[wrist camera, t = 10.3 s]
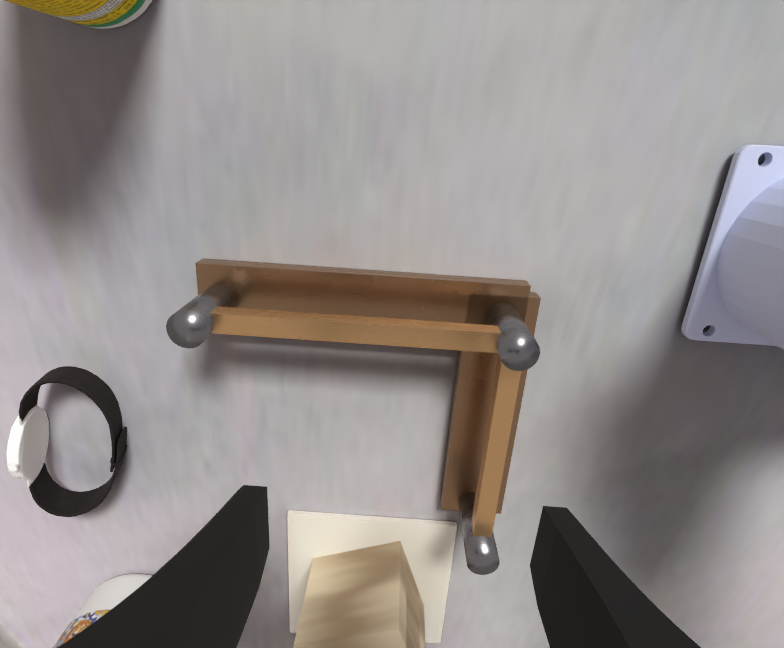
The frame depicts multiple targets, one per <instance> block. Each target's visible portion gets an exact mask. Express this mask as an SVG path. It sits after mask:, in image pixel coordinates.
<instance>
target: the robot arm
mask: <svg viewBox="0 0 784 648" xmlns="http://www.w3.org/2000/svg"><path fill="white" fill-rule="evenodd" d="M763 153H764V155H765V160H764V162H763V164H761V165H760V166H759V164H758V158H759V157H760V155H762V154H763ZM708 325H710V328H709V330H708V331H707V332H705V333H703V329H704V328H705V327H706V326H708ZM681 331H682V334H683V335H684V336H686V337H687V338H688V339H691V340H698V341H712V342H727V343H741V344H756V345H770V346H778V347H780V348H781V349H783V350H784V147H783V146H768V145H744V146H742V147H741V148H739V149H738V150H737V151H736V152H735V154H734V156H733V159H732V162H731V165H730V168H729V172H728V175H727V178H726V182H725V185H724V188H723V192H722V195H721V198H720V201H719V205H718V208H717V211H716V215H715V218H714V221H713V224H712V228H711V231H710V234H709V238H708V241H707V244H706V247H705V251H704V254H703V257H702V261H701V264H700V267H699V270H698V274H697V277H696V280H695V284H694V287H693V290H692V293H691V297H690V300H689V303H688V307H687V310H686V313H685V316H684V320H683V323H682V327H681ZM268 550H269V525H268V500H267V487H262V486H248V485H243V486H242V487H241V488H240V489H239V490H238V491H237V492H236V493H235V494H234V495H233V496H232V498H231V499H230V500H229V501H228V502H227V503H226V504H225V505H224V506H223V507H222V508H221V510H220V511H219V512H218V513H217V514H216V515H215V516H214V517H213V518H212V519H211V520H210V521H209V522H208V523H207V524H206V525H205V526H204V527H203V528H202V529H201V530H200V531H199V532H198V533H197V534H196V535H195V536H194V537H193V538H192V539H191V540H190V541H189V542H188V543H187V544H186V545H185V546H184V547H183V548H182V549H181V550H180V551H179V552H178V553H177V554H176V555H175V556H174V557H173V558H172V559H170V560H169V561H168V562H167V563H166V564H165V565H164V566H163V567H162V568H161V569H160V570H158V571H157V572H156V573H155V574H154V575H153V576H152V577H151V578H149V579H148V580H147V581H146V582H145V583H144V584H142V585H141V586H140V587H139V588H138V589H136V590H135V591H134V592H133V593H132V594H130V595H129V596H128V597H126V598H125V599H124V600H123V601H121V602H120V603H119V604H118V605H116V606H115V607H114V608H113V609H111V610H110V611H108V612H107V613H106V614H104V615H103V616H102V617H100V618H99V619H98V620H96V621H95V622H94V623H92V624H91V625H89V626H88V627H87V628H85V629H84V630H82V631H81V632H79V633H78V634H77V635H75V636H74V637H72V638H71V639H70V640H68V641H67V642H65V643H64V644H62V645H61V646H59V647H57V648H236V647H237V645H238V642H239V639H240V637H241V634H242V631H243V629H244V626H245V623H246V621H247V618H248V615H249V613H250V610H251V607H252V605H253V602H254V599H255V597H256V594H257V591H258V589H259V585H260V582H261V578H262V574H263V570H264V566H265V562H266V558H267V554H268ZM530 568H531V574H532V579H533V585H534V590H535V595H536V600H537V605H538V609H539V612H540V616H541V619H542V622H543V626H544V629H545V632H546V636H547V639H548V642H549V645H550V648H701V647H700V646H698V645H697V644H696V643H695V642H694V641H693V640H692V639H691V638H689V637H688V636H687V635H686V634H685V633H684V632H683V631H682V630H680V629H679V628H678V627H677V626H676V625H675V624H674V623H673V622H672V621H671V620H670V619H669V618H668V617H666V616H665V615H664V614H663V613H662V612H661V611H660V610H659V609H658V608H657V607H656V606H655V605H654V604H653V603H652V602H651V601H650V600H649V599H648V598H647V597H646V596H645V595H644V594H643V593H642V592H641V591H640V590H639V589H638V588H637V586H636V585H635V584H634V583H633V582H632V581H631V580H630V579H629V578H628V577H627V576H626V575H625V574H624V573H623V572H622V570H621V569H620V568H619V567H618V566H617V565H616V564H615V563H614V562H613V561H612V559H611V558H610V557H609V556H608V555H607V554H606V553H605V552H604V550H603V549H602V548H601V547H600V546H599V545H598V544H597V542H596V541H595V540H594V539H593V538H592V537H591V535H590V534H589V533H588V532H587V531H586V530H585V528H584V527H583V526H582V525H581V524H580V523H579V521H578V520H577V519H576V518H575V517H574V516H573V514H572V513H571V512H570V511H569V510H568V509H567V508H562V507H548V506H543V510H542V514H541V518H540V523H539V527H538V532H537V536H536V541H535V545H534V550H533V554H532V559H531V563H530Z"/></svg>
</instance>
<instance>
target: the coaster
mask: <svg viewBox="0 0 784 648" xmlns="http://www.w3.org/2000/svg"><path fill="white" fill-rule="evenodd" d="M287 524H288V572H289V619H290V633H297V628H298V624H299V619H300V615H301V610H302V606H303V601H304V597H305V592H306V588H307V583H308V579H309V574H310V570H311V565H312V560H313V558H317V557H322V556H327V555H332V554H337V553H342V552H347V551H352V550H357V549H362V548H367V547H372V546H377V545H382V544H387V543H392V542H397V541H401V544H402V547H403V549H404V552H405V555H406V558H407V560H408V563H409V566H410V569H411V571H412V574H413V577H414V580H415V582H416V585H417V588H418V591H419V593H420V596H421V599H422V602H423V604H424V620H425V642H428V643H440V641H441V635H442V628H443V621H444V614H445V607H446V600H447V593H448V586H449V579H450V572H451V565H452V558H453V551H454V545H455V538H456V531H457V522H449V521H435V520H421V519H406V518H392V517H378V516H363V515H349V514H335V513H321V512H306V511H292V510H289V511H288V514H287Z"/></svg>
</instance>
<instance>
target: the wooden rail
mask: <svg viewBox="0 0 784 648" xmlns="http://www.w3.org/2000/svg"><path fill="white" fill-rule="evenodd" d="M196 274H197V285H198V296H197V297H196V298H194V299H193V300H192V301H190V302H189V303H188V304H186V305H185V306H184V307H182V308H181V309H180V310H179V311H177V312H176V313H175V314H173V315H172V316H171V317H170V318H169V319H168V321H167V325H166V329H167V333H168V335H169V337H170V339H171V340H172V341H173V342H174V343H175V344H177V345H179V346H181V347H184V348H194V347H197V346H199V345H200V344H201V343H202V342H203V341H204V340H205V339H206V338H207V337H208V336H209V335H210V334H211V333H214V334H228V335H243V336H257V337H272V338H286V339H301V340H315V341H330V342H344V343H359V344H373V345H388V346H402V347H417V348H431V349H446V350H459V356H458V364H457V372H456V380H455V388H454V396H453V404H452V412H451V420H450V428H449V436H448V444H447V452H446V460H445V468H444V476H443V484H442V492H441V507H442V509H444V510H458V511H460V518H461V525H462V532H463V539H464V547H465V554H466V561H467V566H468V568H469V569H470V570H471V571H472V572H473V573H476V574H480V575H485V574H489V573H492V572H494V571H495V570H496V569H497V568H498V566H499V557H498V552H497V548H496V543H495V539H494V534H493V526H494V520H495V515H496V513H501V510H502V504H503V499H504V493H505V488H506V483H507V477H508V472H509V466H510V461H511V456H512V450H513V445H514V439H515V434H516V429H517V423H518V418H519V412H520V407H521V401H522V396H523V391H524V385H525V380H526V374H527V369H529V368H530V367H532V366H533V365H534V364H535V363H536V362H537V360H538V358H539V355H540V349H539V345H538V344H537V342H536V340H535V339H534V331H535V326H536V320H537V315H538V309H539V304H540V299H541V298H540V297H539V296H538V295H537V293H534V292H530V287H531V286H530V285H529V284H528V282H527V281H522V280H508V279H493V278H479V277H464V276H449V275H435V274H420V273H406V272H391V271H376V270H362V269H347V268H333V267H318V266H303V265H289V264H274V263H260V262H245V261H230V260H216V259H202V260H200V261H198V262H197V263H196Z"/></svg>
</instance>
